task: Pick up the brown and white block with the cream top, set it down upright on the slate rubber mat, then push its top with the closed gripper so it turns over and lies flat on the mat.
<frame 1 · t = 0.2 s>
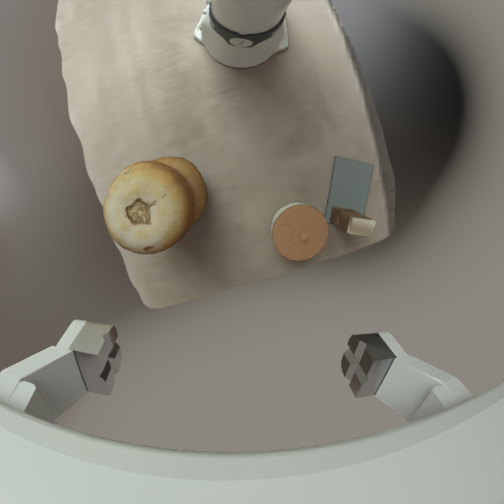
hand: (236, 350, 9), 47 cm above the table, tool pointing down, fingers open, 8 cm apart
slate mat: (348, 192, 56), on the table
lidded jar: (291, 223, 58), on the table
brown and white block: (341, 214, 57), point 1 cm above the table, touching slate mat
butternut squash: (173, 189, 53), on the table
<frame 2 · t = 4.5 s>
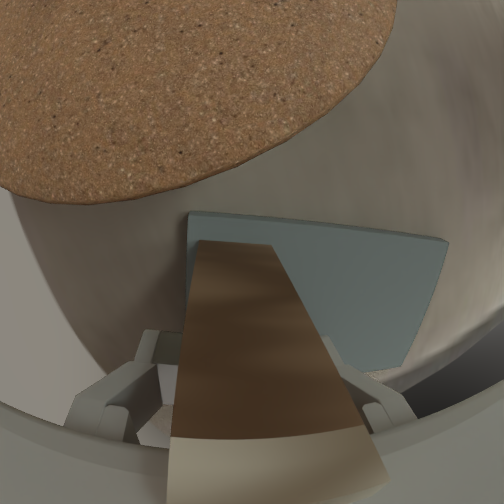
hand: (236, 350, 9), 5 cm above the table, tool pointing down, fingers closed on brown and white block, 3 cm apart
slate mat: (323, 307, 14), on the table
lidded jar: (176, 53, 9), on the table
brown and white block: (230, 295, 12), point 1 cm above the table, touching gripper, slate mat
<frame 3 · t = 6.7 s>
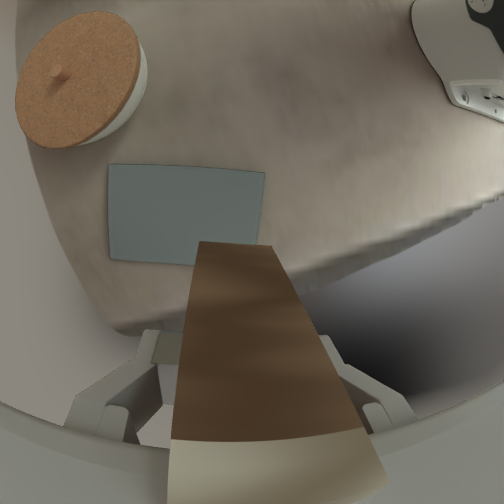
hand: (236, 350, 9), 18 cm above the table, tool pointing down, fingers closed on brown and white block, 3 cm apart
slate mat: (181, 215, 25), on the table
lidded jar: (107, 92, 20), on the table
brown and white block: (230, 296, 12), point 14 cm above the table, touching gripper
when the fingers open (6 cm above the table, at t = 8.9 s): brown and white block drops 1 cm, resting on slate mat.
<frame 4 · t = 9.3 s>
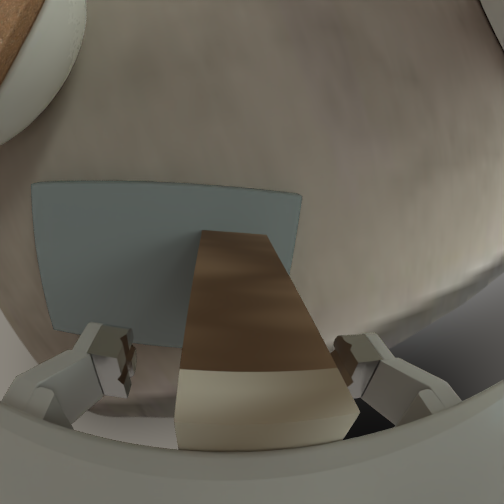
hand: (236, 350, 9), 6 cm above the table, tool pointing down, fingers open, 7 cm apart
slate mat: (152, 268, 14), on the table
lidded jar: (36, 65, 9), on the table
brown and white block: (229, 280, 14), point 1 cm above the table, touching slate mat
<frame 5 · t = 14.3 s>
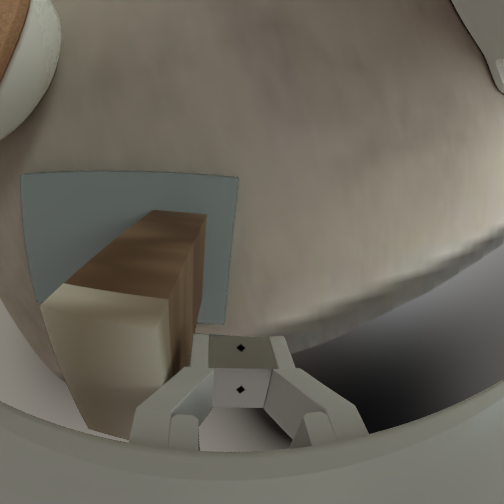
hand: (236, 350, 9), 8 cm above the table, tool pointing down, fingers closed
slate mat: (116, 245, 15), on the table
lidded jar: (26, 75, 11), on the table
brown and white block: (177, 255, 15), point 1 cm above the table, touching gripper, slate mat
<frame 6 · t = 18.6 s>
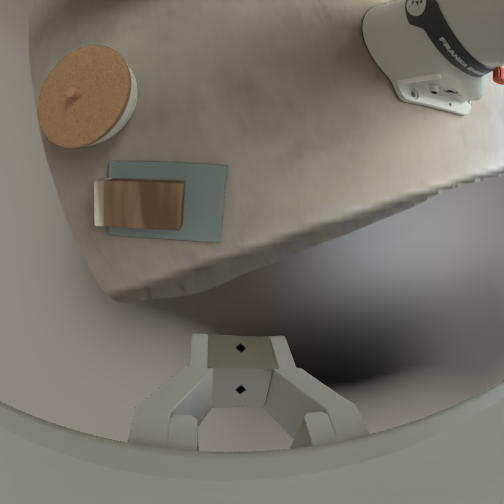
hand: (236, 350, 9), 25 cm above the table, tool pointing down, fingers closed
slate mat: (164, 200, 31), on the table
lidded jar: (107, 104, 26), on the table
brown and white block: (182, 205, 29), point 2 cm above the table, tilted 90°, touching slate mat
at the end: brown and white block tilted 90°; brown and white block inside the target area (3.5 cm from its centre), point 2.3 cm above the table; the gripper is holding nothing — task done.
